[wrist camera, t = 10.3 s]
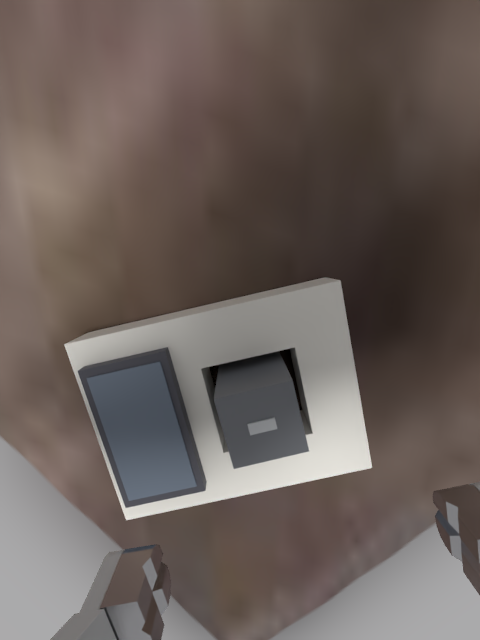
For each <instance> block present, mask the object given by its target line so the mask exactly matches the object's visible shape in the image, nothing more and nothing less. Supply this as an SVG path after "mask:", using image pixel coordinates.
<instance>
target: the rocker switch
mask: <svg viewBox="0 0 480 640" xmlns="http://www.w3.org/2000/svg"><path fill="white" fill-rule="evenodd" d="M214 403H215V406H216V410H217V413H218V416H219V420H220V423H221V427H222V430H223V434H224V437H225V441H226V444H227V447H228V451H229V454H230V458H231V461H232V465H233V468H234V469H236V468H241V467H245V466H249V465H253V464H258V463H262V462H266V461H270V460H275V459H279V458H283V457H287V456H292V455H296V454H300V453H304V452H309V448H308V444H307V439H306V435H305V431H304V427H303V422H302V418H301V414H300V410H299V405H298V401H297V397H296V393H295V388H294V384H293V380H292V378H291V376H290V374H289V371H288V369H287V367H286V365H285V363H284V361H283V359H282V357H281V354H280V352H279V351H277V352H272V353H268V354H263V355H259V356H255V357H250V358H246V359H241V360H237V361H233V362H228V363H224V364H219V368H218V374H217V381H216V387H215V393H214Z"/></svg>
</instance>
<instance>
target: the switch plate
mask: <svg viewBox="0 0 480 640" xmlns="http://www.w3.org/2000/svg"><path fill="white" fill-rule="evenodd" d="M64 346H65V348H66V351H67V354H68V357H69V360H70V363H71V365H72V368H73V371H74V374H75V377H76V380H77V382H78V385H79V388H80V391H81V394H82V396H83V399H84V402H85V405H86V408H87V411H88V413H89V416H90V419H91V422H92V425H93V428H94V430H95V433H96V436H97V439H98V442H99V445H100V447H101V450H102V453H103V456H104V459H105V461H106V464H107V467H108V470H109V473H110V476H111V478H112V481H113V484H114V487H115V490H116V493H117V495H118V498H119V501H120V504H121V507H122V510H123V512H124V515H125V518H126V520H130V519H134V518H139V517H144V516H149V515H153V514H158V513H163V512H167V511H172V510H177V509H181V508H186V507H191V506H195V505H200V504H205V503H209V502H214V501H219V500H224V499H228V498H233V497H238V496H242V495H247V494H252V493H256V492H261V491H266V490H270V489H275V488H280V487H284V486H289V485H294V484H299V483H303V482H308V481H313V480H317V479H322V478H327V477H331V476H336V475H341V474H345V473H350V472H355V471H359V470H364V469H369V468H372V464H371V458H370V452H369V446H368V441H367V435H366V429H365V423H364V417H363V411H362V405H361V399H360V393H359V387H358V381H357V375H356V369H355V364H354V358H353V352H352V346H351V340H350V334H349V328H348V322H347V316H346V310H345V304H344V298H343V292H342V286H341V281H340V280H337V279H332V278H327V277H324V278H320V279H315V280H311V281H307V282H303V283H298V284H294V285H290V286H285V287H281V288H277V289H272V290H268V291H264V292H260V293H255V294H251V295H247V296H242V297H238V298H234V299H230V300H225V301H221V302H217V303H212V304H208V305H204V306H199V307H195V308H191V309H187V310H182V311H178V312H174V313H169V314H165V315H161V316H157V317H152V318H148V319H144V320H139V321H135V322H131V323H127V324H122V325H118V326H114V327H109V328H105V329H101V330H96V331H92V332H88V333H86V334H84V335H82V336H80V337H78V338H76V339H74V340H72V341H70V342H68V343H66V344H64ZM285 349H290V353H291V358H292V363H293V368H294V372H295V377H296V382H297V387H298V391H299V396H300V401H301V406H302V410H301V411H300V414H301V418H302V422H303V427H304V431H305V435H306V439H307V444H308V448H309V452H304V453H300V454H296V455H292V456H287V457H283V458H279V459H275V460H270V461H266V462H262V463H258V464H253V465H249V466H245V467H241V468H236V469H234V468H233V465H232V461H231V458H230V454H229V451H228V447H227V444H226V441H225V437H224V434H223V430H222V427H221V423H220V420H219V416H218V413H217V410H216V406H215V403H214V393H215V387H214V383H213V379H212V376H211V372H210V368H209V367H210V366H215V365H219V364H224V363H228V362H233V361H237V360H241V359H246V358H250V357H255V356H259V355H263V354H268V353H272V352H277V351H281V350H285Z"/></svg>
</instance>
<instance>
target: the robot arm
mask: <svg viewBox="0 0 480 640" xmlns="http://www.w3.org/2000/svg"><path fill="white" fill-rule="evenodd" d="M433 503H434V504H435V505H436V507H437V508H438V509H439V510H438V512H437V514H436V515H435V518H436V524H437V528H438V531H439V533H440V536H441V538H442V540H443V542H444V544H445V546H446V547H447V549H448V550H449V552H450V553H451V555H452V556H454V557H456V558H457V559H459V560H460V561H462V563H463V571H464V573H465V575H466V576H467V578H468V579H469V580H470V582H471V583H472V585H473V586H474V588H475V589H476V591H477V592H478V593H479V595H480V482H476V483H471V484H466V485H461V486H456V487H452V488H447V489H442V490H437V491H434V492H433ZM162 556H163V553H162V550H161V548H160V545H150V546H143V547H137V548H131V549H125V550H121V551H114V552H109V553H108V554H107V555H106V557H105V558H104V560H103V562H102V565H101V567H100V569H99V571H98V573H97V576H96V578H95V580H94V582H93V584H92V587H91V589H90V591H89V593H88V595H87V598H86V600H85V602H84V604H83V606H82V609H81V611H80V613H77V614H74V615H73V616H72V617H71V618H70V619H69V620H68V621H67V622H66V624H65V625H64V626H63V627H62V628H61V629H60V630H59V631H58V632H57V633H56V634H55V635H54V636H53V637H52V638H51V639H50V640H161V637H162V633H163V628H164V623H163V620H162V617H161V615H162V614H163V613H164V611H165V610H166V609H167V607H168V604H169V599H170V593H171V579H170V573H169V570H168V567H167V565H165V564H164V563H163V562H161V560H162Z"/></svg>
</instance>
